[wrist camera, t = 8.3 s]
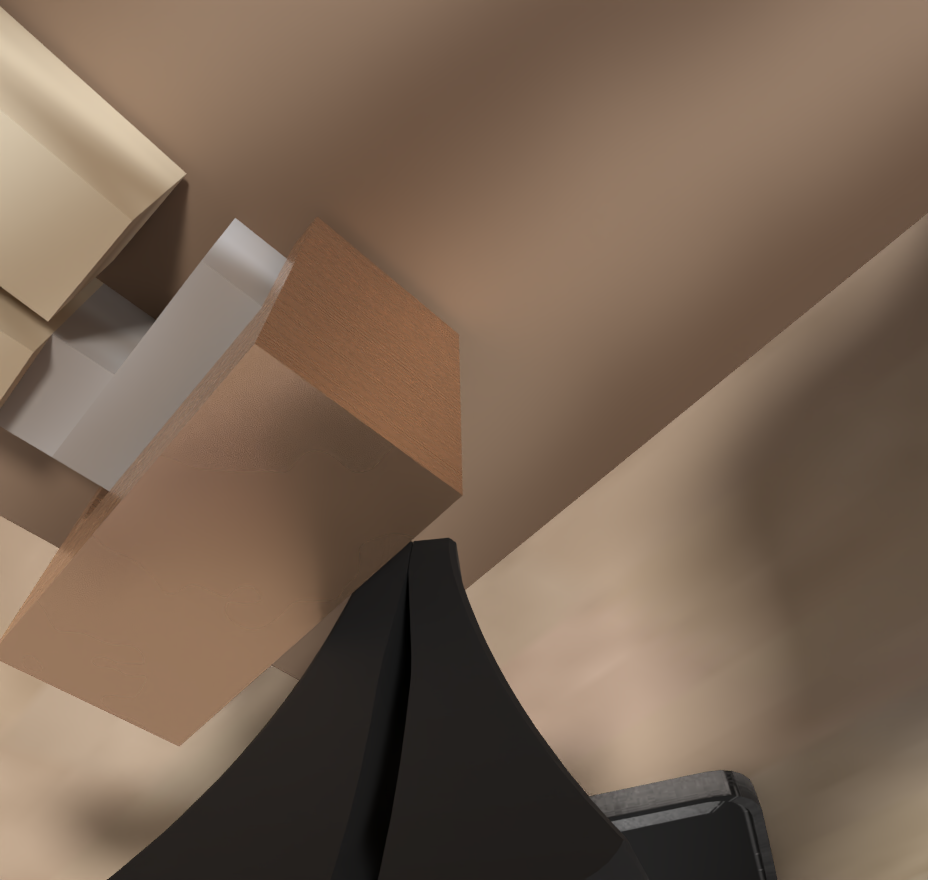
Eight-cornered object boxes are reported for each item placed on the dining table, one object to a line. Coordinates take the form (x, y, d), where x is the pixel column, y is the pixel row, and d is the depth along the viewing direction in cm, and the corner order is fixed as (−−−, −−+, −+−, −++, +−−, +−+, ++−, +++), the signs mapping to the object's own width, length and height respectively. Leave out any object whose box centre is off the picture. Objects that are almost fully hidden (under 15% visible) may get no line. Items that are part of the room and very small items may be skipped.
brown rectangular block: (458, 334, 13) (462, 494, 9) (245, 549, 16) (179, 746, 12) (317, 216, 12) (254, 343, 8) (112, 467, 15) (-10, 656, 11)
